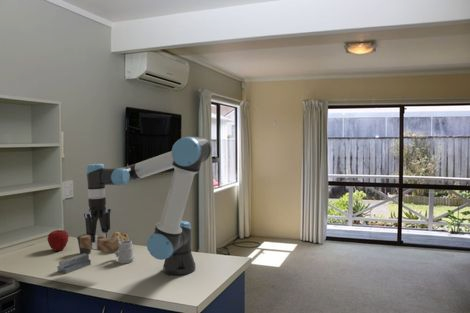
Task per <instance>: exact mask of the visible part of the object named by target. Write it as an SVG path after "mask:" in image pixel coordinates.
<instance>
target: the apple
mask: <svg viewBox="0 0 470 313" xmlns="http://www.w3.org/2000/svg"><path fill="white" fill-rule="evenodd" d="M47 241H48V242H47V243H48V245H49V247H50V248H51V250H53V251H63V250H64V249H65V248H66V246H67V244H68V242H69V234H68V232H67V231H65V230H64V229H61V230H59V229H57V230H53V231H51V232H50V233H49V234H48V236H47Z"/></svg>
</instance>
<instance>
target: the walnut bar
mask: <svg viewBox="0 0 470 313" xmlns="http://www.w3.org/2000/svg"><path fill="white" fill-rule="evenodd" d="M97 245H98V249H97V250H96V249H92V242H91V236H90V235H87V234H86V235H85V236H82V237H80V248H86V249H91V251H92V250H93V251H98V252H105V253H110V254H114V253H115V252H116V251H118V240H117V239H111V238H109V237H107V238H104V237H101V236H97Z"/></svg>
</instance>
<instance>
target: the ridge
mask: <svg viewBox="0 0 470 313" xmlns="http://www.w3.org/2000/svg"><path fill="white" fill-rule="evenodd" d="M89 255H90V254H77V255H75V256H72V257H69V258H66V259H63V260H59V261H58V266H57V272H58V273H62V274H68V273H71V272H72V273H73V272H75V271H78V270H80V269H83V268H86V267H88V266H90V265H91V264H92V263H91V259H90V256H89Z"/></svg>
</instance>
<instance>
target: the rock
mask: <svg viewBox="0 0 470 313" xmlns="http://www.w3.org/2000/svg"><path fill="white" fill-rule="evenodd" d="M117 236H118V237H119V239H120V242H121V241H130V237H129V234H128V233H127V232H119V231H114V233H113V234H112V235H111V238H110V239H116V237H117ZM118 248H119V246H118Z"/></svg>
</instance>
